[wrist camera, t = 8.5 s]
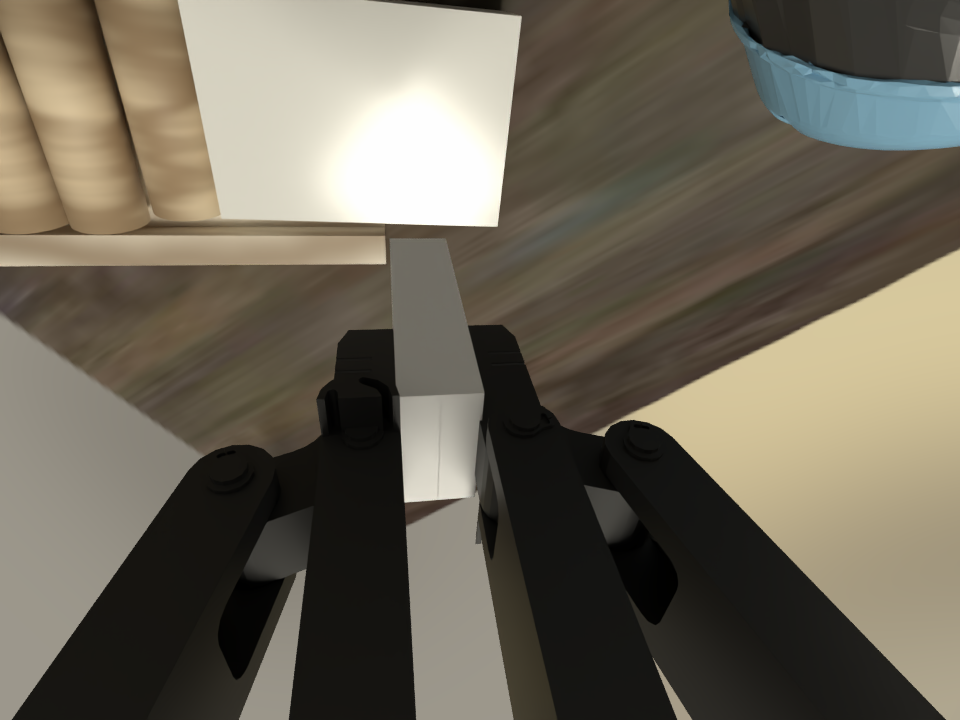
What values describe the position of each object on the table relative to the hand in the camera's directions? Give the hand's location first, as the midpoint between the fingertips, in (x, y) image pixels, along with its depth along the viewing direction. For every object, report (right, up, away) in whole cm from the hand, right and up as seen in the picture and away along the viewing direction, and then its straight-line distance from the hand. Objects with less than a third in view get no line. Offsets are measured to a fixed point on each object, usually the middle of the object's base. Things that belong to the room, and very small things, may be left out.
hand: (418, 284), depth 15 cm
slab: (-5, +13, +16) cm, 21 cm away
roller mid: (-19, +10, +11) cm, 24 cm away
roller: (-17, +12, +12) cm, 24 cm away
